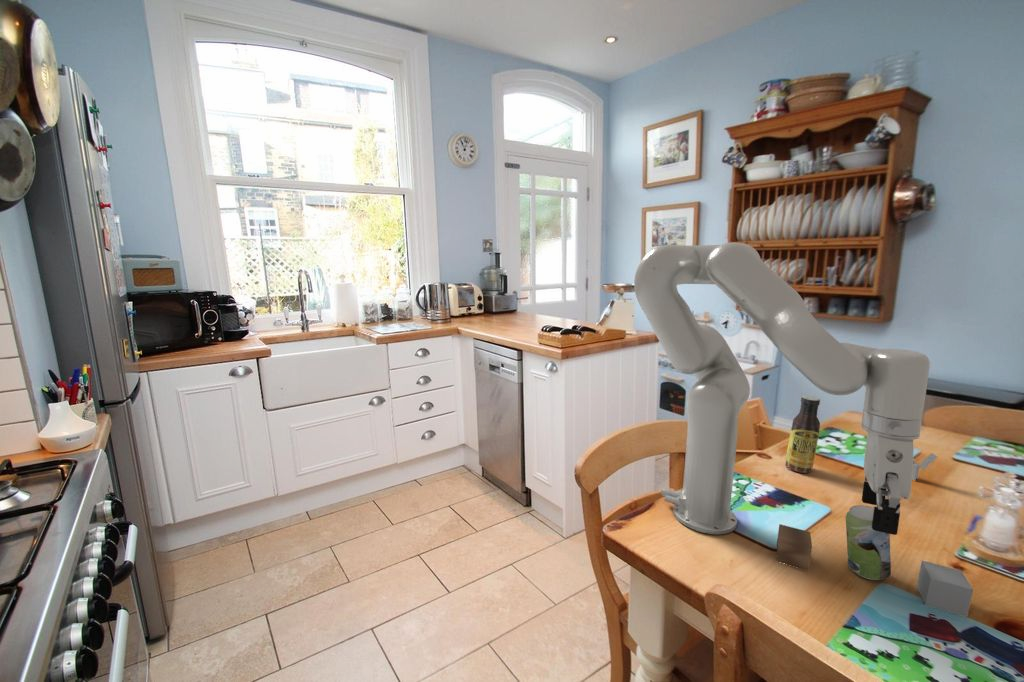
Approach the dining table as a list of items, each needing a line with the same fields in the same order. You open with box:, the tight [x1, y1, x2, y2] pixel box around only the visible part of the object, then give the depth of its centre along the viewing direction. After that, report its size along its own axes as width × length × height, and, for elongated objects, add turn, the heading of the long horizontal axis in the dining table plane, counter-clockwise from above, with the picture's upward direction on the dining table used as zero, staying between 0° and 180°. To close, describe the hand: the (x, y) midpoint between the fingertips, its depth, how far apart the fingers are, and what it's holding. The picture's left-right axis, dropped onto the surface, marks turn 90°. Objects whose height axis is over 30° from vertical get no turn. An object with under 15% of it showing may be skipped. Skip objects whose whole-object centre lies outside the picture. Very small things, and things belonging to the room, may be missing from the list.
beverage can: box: [845, 504, 892, 581], centre depth 80 cm, size 6×7×12 cm
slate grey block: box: [916, 560, 974, 618], centre depth 74 cm, size 5×5×5 cm
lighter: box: [912, 452, 938, 481], centre depth 114 cm, size 7×2×8 cm, turn 33°
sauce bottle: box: [785, 395, 821, 474], centre depth 118 cm, size 7×6×20 cm
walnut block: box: [775, 523, 813, 572], centre depth 84 cm, size 5×5×5 cm
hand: (878, 517), depth 78 cm, fingers open, 9 cm apart
